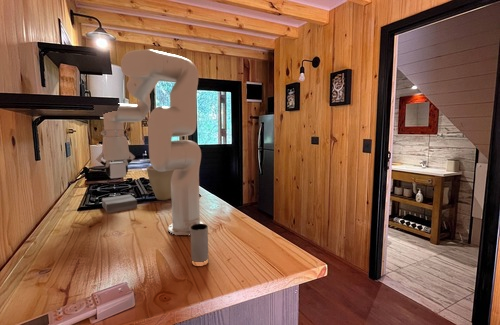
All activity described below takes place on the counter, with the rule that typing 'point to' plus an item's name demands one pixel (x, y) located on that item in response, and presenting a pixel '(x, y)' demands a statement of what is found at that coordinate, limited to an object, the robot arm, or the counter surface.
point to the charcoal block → (119, 203)
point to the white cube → (117, 170)
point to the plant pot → (160, 183)
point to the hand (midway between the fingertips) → (117, 174)
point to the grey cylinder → (199, 242)
